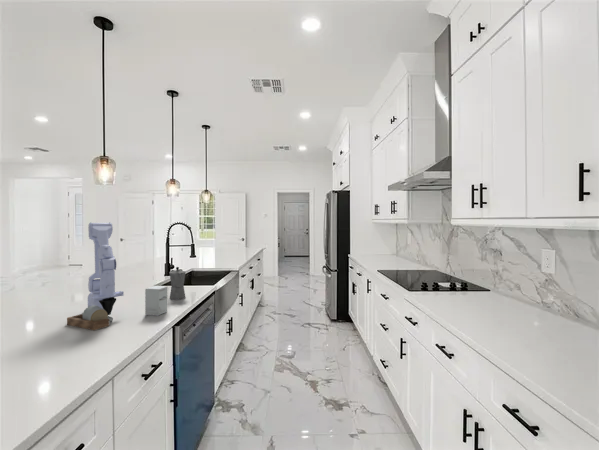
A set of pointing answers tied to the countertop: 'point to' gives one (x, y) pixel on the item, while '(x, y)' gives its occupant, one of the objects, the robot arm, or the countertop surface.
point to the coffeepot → (177, 284)
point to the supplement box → (156, 300)
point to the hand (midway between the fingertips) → (107, 314)
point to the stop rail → (87, 322)
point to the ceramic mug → (95, 314)
